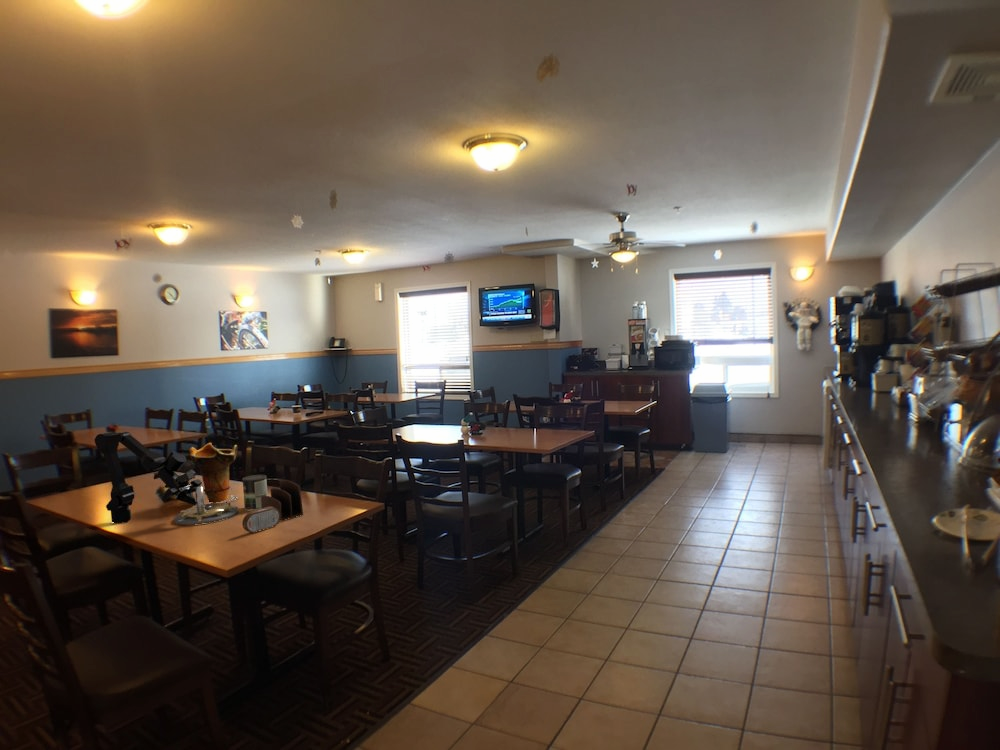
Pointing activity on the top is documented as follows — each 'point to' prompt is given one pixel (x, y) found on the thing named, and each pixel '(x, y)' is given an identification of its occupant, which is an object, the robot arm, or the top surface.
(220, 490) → the decorative vase
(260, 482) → the coffee can
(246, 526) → the tin
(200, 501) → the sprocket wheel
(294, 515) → the letter holder
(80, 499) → the top surface
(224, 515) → the base plate
